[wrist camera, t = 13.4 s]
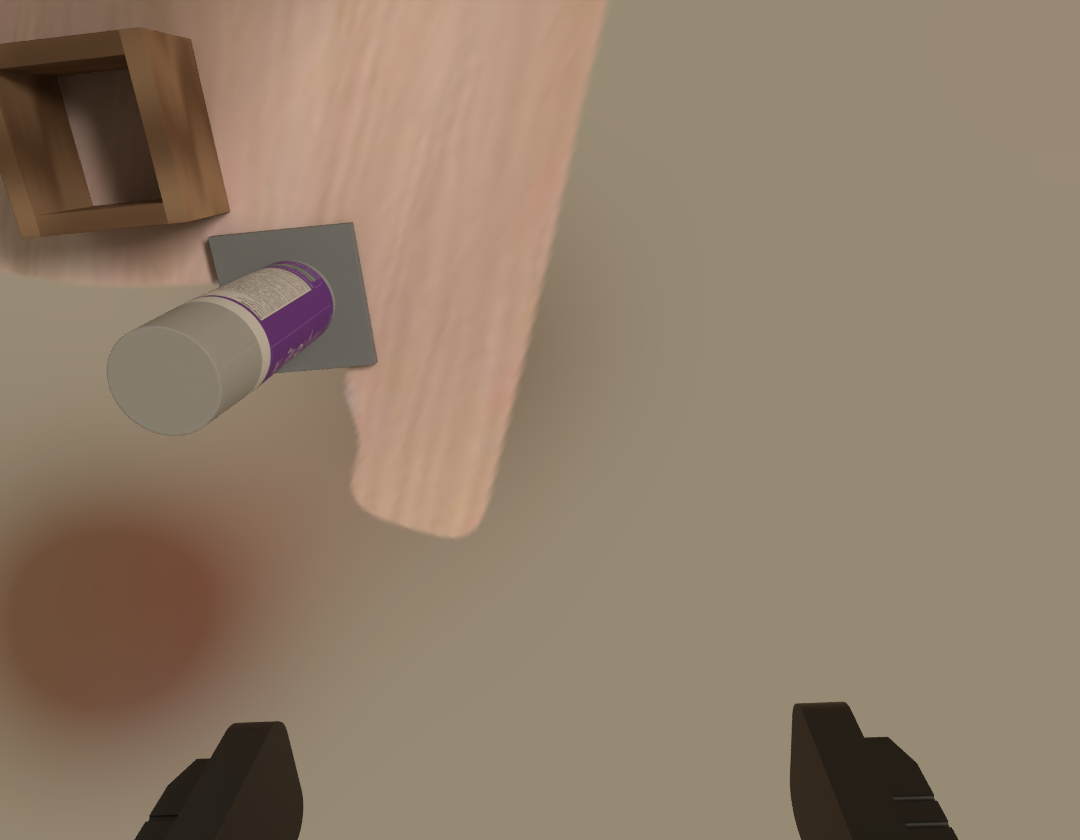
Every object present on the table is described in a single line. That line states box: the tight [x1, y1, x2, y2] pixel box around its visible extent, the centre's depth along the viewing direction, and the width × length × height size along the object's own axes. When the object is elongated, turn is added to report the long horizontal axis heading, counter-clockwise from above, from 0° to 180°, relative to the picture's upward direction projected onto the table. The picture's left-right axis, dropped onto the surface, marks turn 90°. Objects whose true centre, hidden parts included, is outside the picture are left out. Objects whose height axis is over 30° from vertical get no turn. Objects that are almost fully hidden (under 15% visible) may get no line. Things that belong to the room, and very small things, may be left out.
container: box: [107, 260, 335, 436], centre depth 37 cm, size 5×5×15 cm
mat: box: [208, 222, 378, 373], centre depth 44 cm, size 8×8×1 cm
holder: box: [0, 28, 230, 238], centre depth 39 cm, size 9×9×5 cm
